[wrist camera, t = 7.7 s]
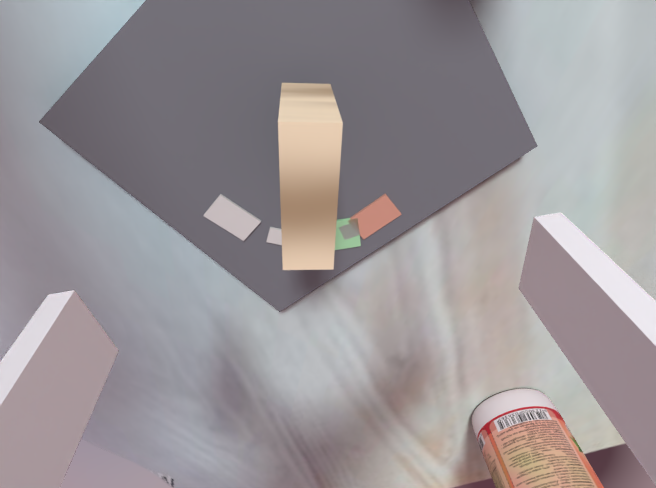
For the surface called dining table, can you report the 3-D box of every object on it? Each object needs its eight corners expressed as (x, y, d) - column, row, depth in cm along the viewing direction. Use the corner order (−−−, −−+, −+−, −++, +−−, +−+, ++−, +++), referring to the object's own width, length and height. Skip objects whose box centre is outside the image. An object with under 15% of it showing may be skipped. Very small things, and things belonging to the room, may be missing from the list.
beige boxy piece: (278, 72, 21) (272, 121, 14) (330, 74, 21) (348, 123, 14) (284, 257, 28) (281, 347, 21) (322, 257, 28) (332, 346, 22)
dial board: (52, 113, 23) (36, 123, 22) (352, -224, 16) (357, -242, 15) (280, 299, 33) (279, 313, 31) (525, 137, 26) (539, 147, 25)
